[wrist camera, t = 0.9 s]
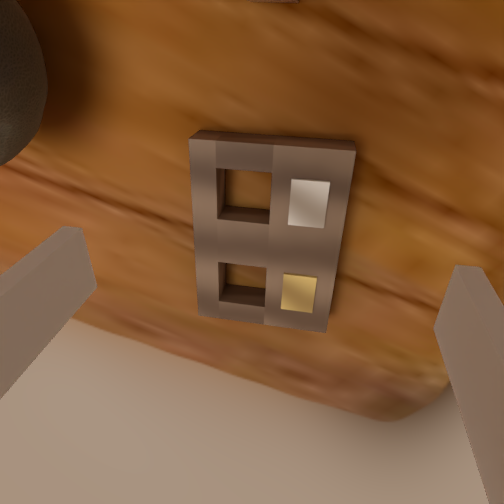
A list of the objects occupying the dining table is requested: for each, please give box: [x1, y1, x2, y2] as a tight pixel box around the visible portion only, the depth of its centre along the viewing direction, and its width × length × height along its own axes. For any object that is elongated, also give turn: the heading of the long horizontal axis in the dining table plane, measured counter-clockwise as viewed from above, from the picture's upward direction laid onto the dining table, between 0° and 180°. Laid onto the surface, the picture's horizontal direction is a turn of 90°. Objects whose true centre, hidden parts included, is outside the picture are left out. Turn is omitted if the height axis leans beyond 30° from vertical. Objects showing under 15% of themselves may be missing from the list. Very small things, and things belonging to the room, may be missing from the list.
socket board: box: [189, 130, 356, 333], centre depth 35 cm, size 18×13×3 cm
